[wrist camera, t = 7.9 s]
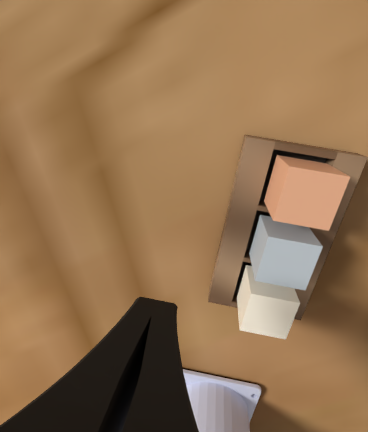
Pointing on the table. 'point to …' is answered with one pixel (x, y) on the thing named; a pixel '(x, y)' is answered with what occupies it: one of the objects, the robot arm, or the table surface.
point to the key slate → (283, 253)
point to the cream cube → (265, 306)
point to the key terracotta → (304, 192)
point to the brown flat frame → (255, 206)
